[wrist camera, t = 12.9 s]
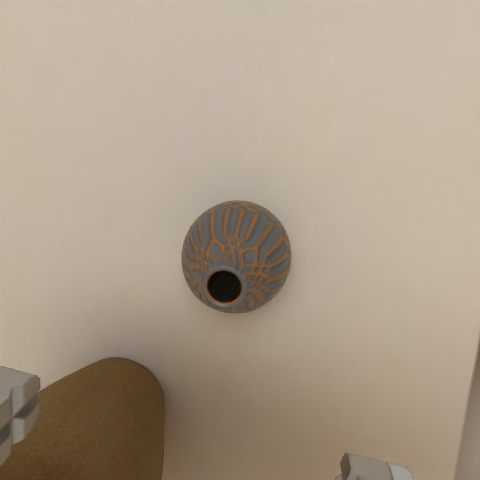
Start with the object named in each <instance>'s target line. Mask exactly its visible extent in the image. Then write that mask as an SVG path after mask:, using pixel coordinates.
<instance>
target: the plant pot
mask: <svg viewBox="0 0 480 480" xmlns="http://www.w3.org/2000/svg"><path fill="white" fill-rule="evenodd" d="M35 395H36V396H37V398H38V399H39V401H40V412H39V416H38V419H37V421H36V423H35V425H34V427H33V429H32V431H31V432H30V433H29V434H28V436H27V437H26V438H25V439H24V440H23V441H20V442H18V443H16V444H14V445H12V452H11V455H10V457H9V458H8V459H7V460H6V461H5V462H4V463H3V465H2V466H1V467H0V480H162V473H163V456H164V404H163V394H162V390H161V387H160V385H159V383H158V381H157V380H156V379H155V377H154V376H153V375H152V374H151V373H150V372H149V371H148V370H147V369H146V368H144V367H143V366H141V365H140V364H138V363H136V362H133V361H130V360H127V359H123V358H107V359H103V360H100V361H98V362H96V363H93V364H91V365H89V366H87V367H84V368H82V369H80V370H78V371H76V372H74V373H72V374H70V375H68V376H66V377H64V378H62V379H60V380H58V381H57V382H55V383H53V384H51V385H49V386H48V387H46V388H44V389H42V390H40V391H39V392H37V393H36V394H35Z"/></svg>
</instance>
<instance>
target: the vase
mask: <svg viewBox="0 0 480 480" xmlns="http://www.w3.org/2000/svg"><path fill="white" fill-rule="evenodd" d="M290 264H291V248H290V243H289V239H288V236H287V233H286V231H285V229H284V227H283V225H282V224H281V222H280V221H279V220H278V219H277V218H276V217H275V216H274V215H273V214H272V213H271V212H270V211H268V210H267V209H265V208H264V207H262V206H260V205H257V204H255V203H251V202H247V201H229V202H224V203H221V204H218V205H216V206H214V207H212V208H210V209H208V210H207V211H206V212H204V213H203V214H202V215H201V216H200V217H198V219H197V220H196V221H195V222H194V223H193V225H192V226H191V227H190V229H189V231H188V233H187V235H186V237H185V240H184V244H183V249H182V269H183V273H184V277H185V280H186V282H187V284H188V286H189V288H190V289H191V291H192V292H193V293H194V295H195V296H196V297H197V298H198V299H199V300H200V301H201V302H203V303H204V304H206V305H207V306H209V307H211V308H213V309H215V310H218V311H221V312H225V313H245V312H249V311H252V310H255V309H257V308H260V307H261V306H263V305H265V304H266V303H267V302H269V301H270V300H271V299H272V298H273V297H274V296H275V295H276V294H277V293H278V292H279V290H280V289H281V288H282V286H283V284H284V283H285V281H286V278H287V276H288V273H289V269H290Z"/></svg>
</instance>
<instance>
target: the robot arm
mask: <svg viewBox="0 0 480 480" xmlns="http://www.w3.org/2000/svg"><path fill="white" fill-rule="evenodd" d="M39 389H40V378H39V377H38V376H36V375H32V374H29V373H25V372H22V371H18V370H15V369H11V368H7V367H4V366H0V467H1V466H2V465H3V463H4V462H5V461H6V460H7V459H8V458H9V457H10V455H11V452H12V445H14V444H16V443H18V442H20V441H23V440H24V439H25V438H26V437H27V436H28V434H29V433H30V432H31V431H32V429H33V427H34V425H35V423H36V421H37V419H38V416H39V412H40V401H39V399H38V398H37V396H36V395H35V394H36V393H37V392H38V391H39ZM340 467H341V474H340V475H339V476H337V477H336V478H335V480H413V477H412V474H411V471H410V470H409V469H408V467H406V466H401V465H397V464H393V463H388V462H384V461H379V460H375V459H371V458H367V457H363V456H359V455H354V454H350V453H345V454H344V455H343V457H342V460H341V463H340Z"/></svg>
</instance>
